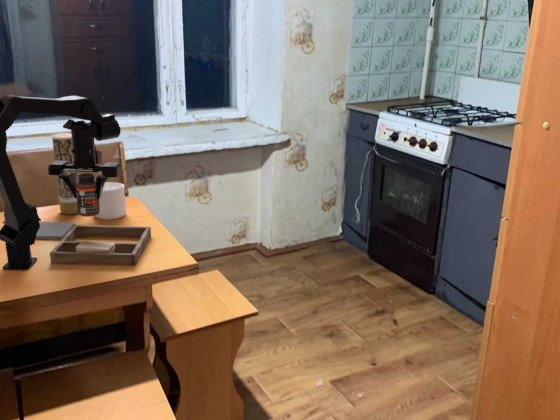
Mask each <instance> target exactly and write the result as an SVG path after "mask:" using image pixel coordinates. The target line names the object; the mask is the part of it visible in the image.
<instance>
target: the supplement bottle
mask: <svg viewBox="0 0 560 420" xmlns="http://www.w3.org/2000/svg"><path fill="white" fill-rule="evenodd" d="M76 196H77V209H78V213H77V214H78V215H79V216H81V217H84V218H85V217H96V216H95V215H97V214H99V213H100V205H99V199H98V198H97V188H96V180H95V175H94V173H90V172H84V173H79V182H78V183H77V184H76Z"/></svg>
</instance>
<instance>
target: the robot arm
mask: <svg viewBox="0 0 560 420" xmlns="http://www.w3.org/2000/svg"><path fill="white" fill-rule="evenodd" d="M20 113H25V114H28V113H29V114H49V115H63V116H67V117H71V118H75V119H79V120H76V121H75V120H74V119H70V118H69V119H67V121H66V122H65V123H64V124H63V125H62V128H63V129H66V130H68V131H69V130H70V133H71V136H72V147H73V149H71V153H73V158H74V164H72V165H70V164H69V162H68V161H61V160H56V161H55V160H53V162H51V163H50V164H48V167H47V173H48V174H47V175H48V176H56V175H60V176H59V178H62V179H63V180H64V182H65V183H66V184H67V186H68V187H69V189H70V190H71V192H72V194H73V195H74V197H75V199H77V196H76V172H79V173H97V174H98V175H97V176H96V177H95V181H96V188H97V198H98V199H100V198H101V194H102V191H103V187H104V184H105V182H107V180H108V179H110V178H117V177H119V176H120V174H122V172H123V166H122V164H121V163H120V162H115V161H114V162H111V161H108V162H106V163H105V164H103V165H99V164H102V162H103V161H102V160H103V151H100V150H97V145H95V140H96V141H97V142H98V141H99V142H101V141H107V140H114V139H118V138H119V137H120V135H121V130H122V129H121V126H120V124H119V122H118V120H117V119H116V115H115V114H113V113H105V114H104V115H102V114H101V113H100V112H99V111H98V109H97V108H96V104H95V102H94V101H93V99H91V98H87V97H84V96H79V95H68V96H62V97H57V98H52V97H51V98H49V97H35V96H22V95H21V96H19V95H12V94H5V95H3V96H2V97H1V98H0V195H1V198H2V201H3V203H4V210H3V211H4V212H3V217H4V224H3V226H2V227H1V228H0V241H1V242H4V244H5V251H6V258H7V262H6V263H5V264H4V265H3V266H2V269H3V270H29V269H30V268H31V267H32V266H33V264H35V263H36V261H37V260H38V257H32V250H31V246H33V245H35V242H36V240H37V239H36V235H37V232H38V230H39V229H40V223H39V222H42V219H41V218H40V216H39V214H38V209H37V207H36V206H34V205H33V204H31V203H28V202H26V201H25V198H24V196H23V193H22V190H21V187H20V185H19V181H18V180H17V177H16V174H15V172H14V168H13V167H12V163H11V160H10V158H9V155H8V152H7V145H8V136H7V131H8V130H9V129H10V128H11V127H12V126H13V124H14V122H15V120H16V119H17V117H18V116H19V114H20ZM86 121H89V122H86ZM78 168H79V169H78Z"/></svg>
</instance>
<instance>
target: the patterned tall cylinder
mask: <svg viewBox="0 0 560 420" xmlns="http://www.w3.org/2000/svg"><path fill="white" fill-rule="evenodd" d="M52 146H53V147H52V148H53V155H54V157H53V158H54V161H56V160H61V161H68V162H69V164H70V165H72V164H74V158H73V153H71V149H73V147H72V136H71V132H60V133H55V134H52ZM78 169H80V168H78ZM79 175H80V172H76V184H77V183H78V182H79ZM55 176H56V184H57V193H58V195H57V196H58V203H59V210H60V213H61V214H63V215H75V214H78V209H77V199H75V197H74V195H73V194H72V192H71V190H70V189H69V187H68V186H67V184H66V183H65V182H64V180H63V179H62V178H59V176H60V175H55Z"/></svg>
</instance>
